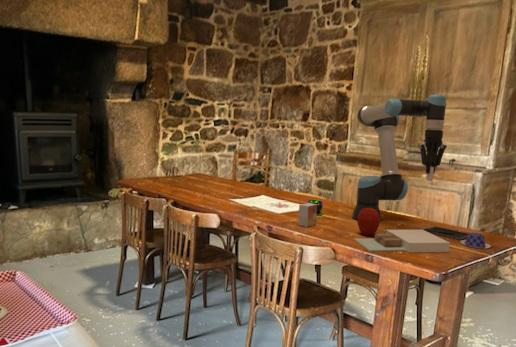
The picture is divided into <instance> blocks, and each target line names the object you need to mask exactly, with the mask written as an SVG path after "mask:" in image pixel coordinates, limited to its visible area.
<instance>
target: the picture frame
mask: <svg viewBox="0 0 516 347" xmlns="http://www.w3.org/2000/svg"><path fill="white" fill-rule="evenodd" d="M422 230H425V231H427V232H429V233H431V234H433V235H435V236H437V237H441V238H442V237H443V238H447V239H451V240H456V241H462V240H466V239H467V237H468V234H469V233H470V232H464V231H459V230H455V229H450V228H446V227H442V226H441V227H440V226H435V225H434V226H431V227H428V228H427V227H426V228H423V229H422Z"/></svg>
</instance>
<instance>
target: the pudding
mask: <svg viewBox="0 0 516 347" xmlns="http://www.w3.org/2000/svg"><path fill="white" fill-rule="evenodd" d="M468 233H469V234H468V237H467V239H465V240H462V241H460V242H459V243H460V244H462V245H464V246H466V247H471V248H475V249H489V248H491V247H492V246H491V245H490V244H489V243H486V241H485V236H484V234H482V233H478V232H468ZM464 242H465V243H464ZM467 245H468V246H467ZM484 247H485V248H484Z"/></svg>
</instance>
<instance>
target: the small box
mask: <svg viewBox="0 0 516 347" xmlns="http://www.w3.org/2000/svg"><path fill="white" fill-rule="evenodd" d="M298 207H299V208H298V221H297V222H298V223H297V225H298V226H301V227H306V228H308V227H312V226H316V225H317V218H316V215H317V204H312V203H307V202H305V203H303V204H299V206H298Z"/></svg>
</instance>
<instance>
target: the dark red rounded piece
mask: <svg viewBox="0 0 516 347" xmlns="http://www.w3.org/2000/svg"><path fill="white" fill-rule="evenodd" d="M380 222H381V221H380V217H379V214H378V212H377V211H376V210H375V209H373V208H370V206H369V208H364V209H362V210H361V211H360V212H359V214H358V220H357V226H358V229H359V231H360V233H361V234H362V235H363V236H372V235H375V234H376V233H377V230H378V229H379V227H380Z"/></svg>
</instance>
